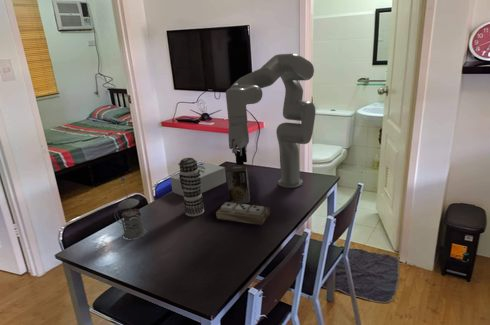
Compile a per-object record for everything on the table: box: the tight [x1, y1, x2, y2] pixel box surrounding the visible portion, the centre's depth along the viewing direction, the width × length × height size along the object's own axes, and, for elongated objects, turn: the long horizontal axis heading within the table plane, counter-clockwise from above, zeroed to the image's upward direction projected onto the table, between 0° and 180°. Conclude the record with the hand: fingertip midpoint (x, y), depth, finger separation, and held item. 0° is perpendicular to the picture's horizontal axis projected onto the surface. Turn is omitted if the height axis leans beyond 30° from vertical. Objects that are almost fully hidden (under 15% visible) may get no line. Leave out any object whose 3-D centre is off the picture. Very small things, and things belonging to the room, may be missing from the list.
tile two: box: [249, 204, 265, 216], centre depth 146 cm, size 5×5×3 cm
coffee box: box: [225, 165, 251, 204], centre depth 162 cm, size 9×6×16 cm
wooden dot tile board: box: [215, 203, 271, 226], centre depth 149 cm, size 10×21×3 cm, turn 66°
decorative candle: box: [178, 157, 205, 217], centre depth 153 cm, size 9×9×25 cm
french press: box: [113, 176, 148, 239], centre depth 139 cm, size 10×12×25 cm
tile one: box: [220, 201, 237, 212], centre depth 151 cm, size 5×5×3 cm
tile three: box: [235, 203, 251, 214], centre depth 149 cm, size 5×5×3 cm
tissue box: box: [169, 162, 227, 197], centre depth 183 cm, size 14×25×11 cm, turn 137°
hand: (241, 162), depth 145 cm, fingers open, 2 cm apart
